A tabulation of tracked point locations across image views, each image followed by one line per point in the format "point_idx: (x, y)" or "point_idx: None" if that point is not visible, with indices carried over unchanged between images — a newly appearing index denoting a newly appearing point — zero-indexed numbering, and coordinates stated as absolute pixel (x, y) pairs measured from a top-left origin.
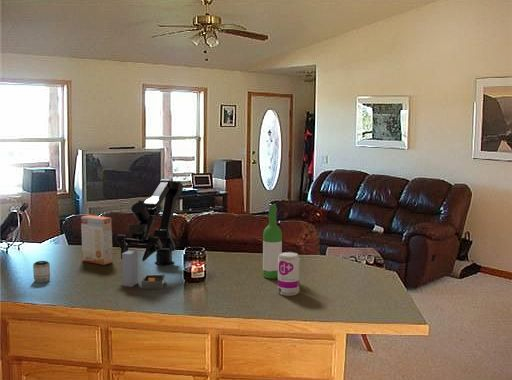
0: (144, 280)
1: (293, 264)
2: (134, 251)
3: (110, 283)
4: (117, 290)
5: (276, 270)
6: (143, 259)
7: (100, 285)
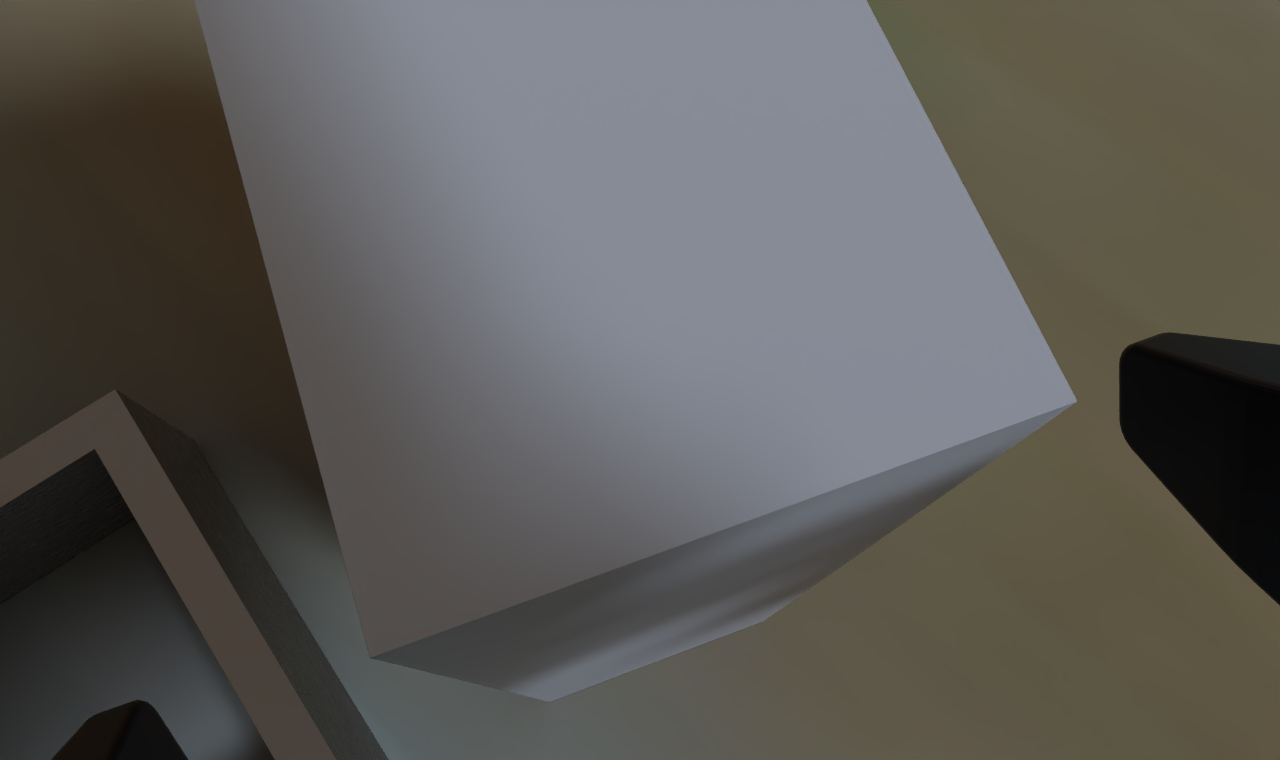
0: (172, 564)
1: None
2: (509, 489)
3: None
4: None
5: None
6: (79, 745)
7: (1026, 164)
